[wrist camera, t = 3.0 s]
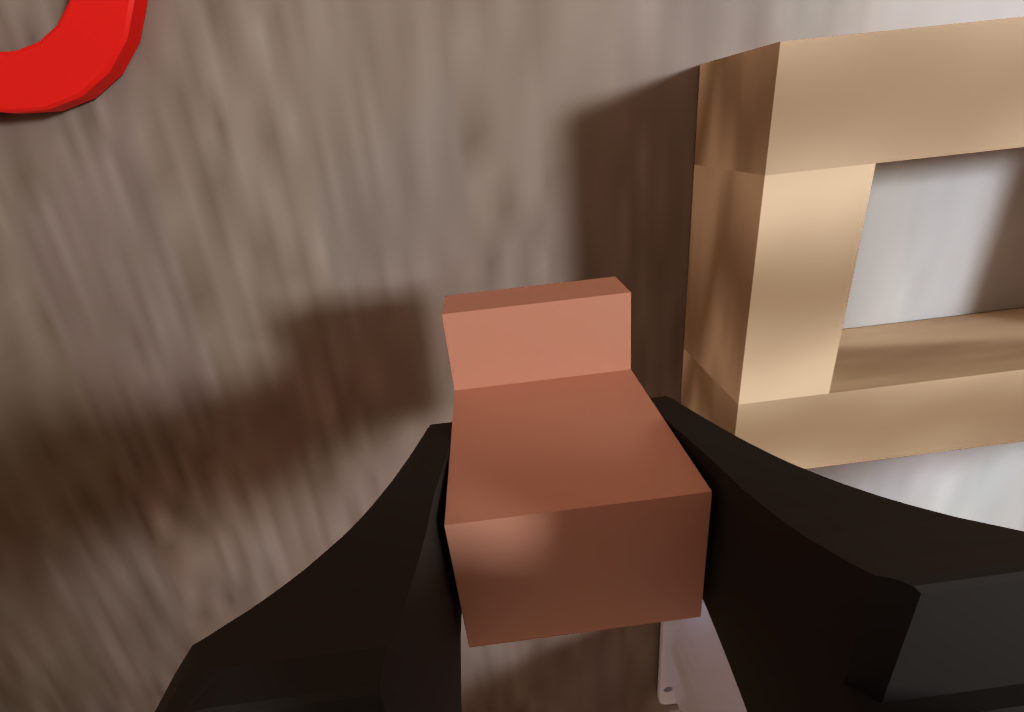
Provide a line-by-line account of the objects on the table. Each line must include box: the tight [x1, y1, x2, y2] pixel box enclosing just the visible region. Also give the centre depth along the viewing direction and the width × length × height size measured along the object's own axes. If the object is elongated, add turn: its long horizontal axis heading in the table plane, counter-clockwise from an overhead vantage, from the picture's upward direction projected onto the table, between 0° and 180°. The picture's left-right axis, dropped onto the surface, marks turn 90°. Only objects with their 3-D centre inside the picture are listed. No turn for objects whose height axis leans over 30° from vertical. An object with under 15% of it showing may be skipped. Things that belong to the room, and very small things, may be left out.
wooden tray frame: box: [681, 17, 1024, 469], centre depth 17 cm, size 13×19×4 cm
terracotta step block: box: [442, 277, 712, 647], centre depth 11 cm, size 5×4×6 cm
